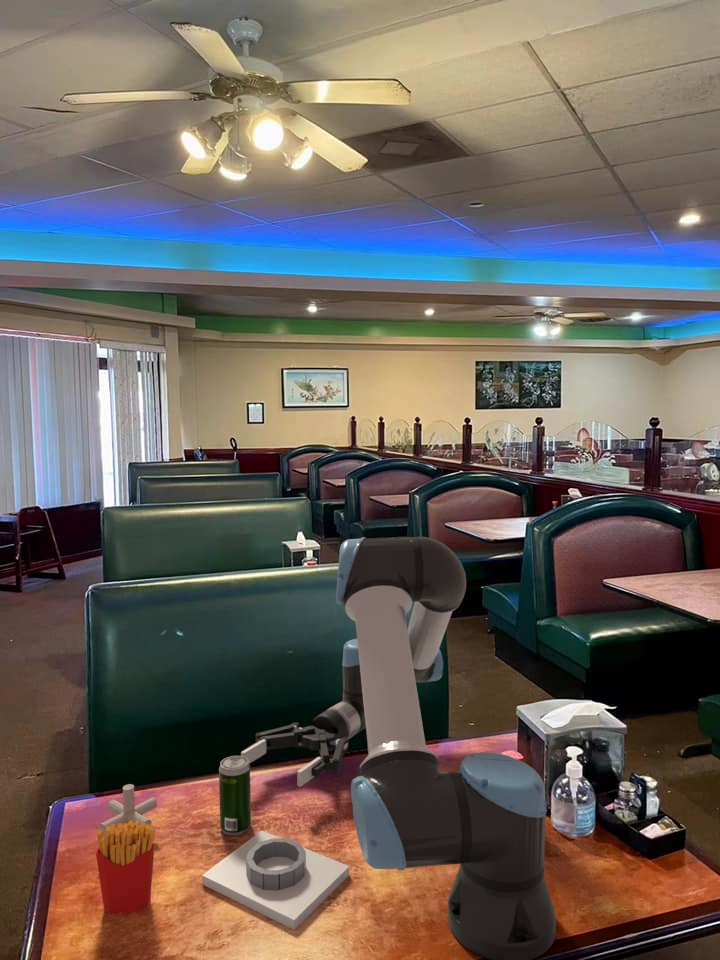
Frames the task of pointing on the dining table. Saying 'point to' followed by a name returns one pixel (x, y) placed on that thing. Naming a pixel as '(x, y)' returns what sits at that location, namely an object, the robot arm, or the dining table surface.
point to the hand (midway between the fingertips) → (269, 769)
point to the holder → (276, 878)
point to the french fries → (126, 866)
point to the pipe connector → (128, 809)
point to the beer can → (234, 795)
